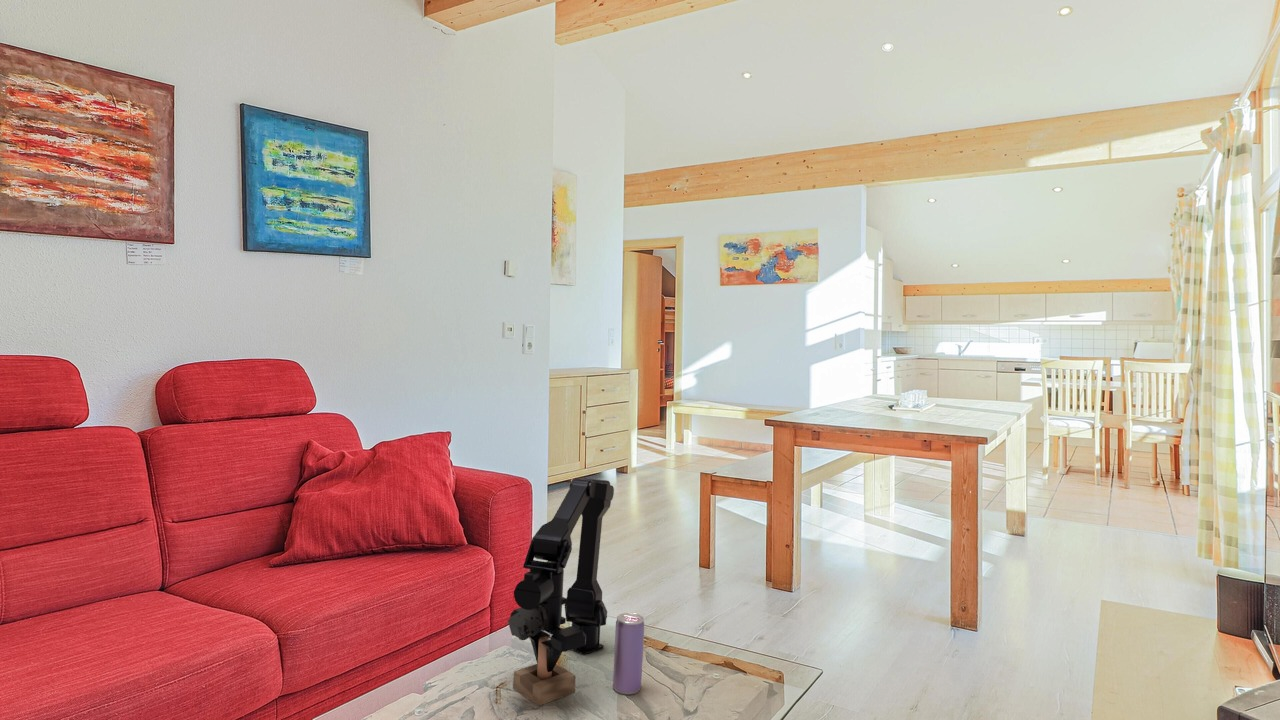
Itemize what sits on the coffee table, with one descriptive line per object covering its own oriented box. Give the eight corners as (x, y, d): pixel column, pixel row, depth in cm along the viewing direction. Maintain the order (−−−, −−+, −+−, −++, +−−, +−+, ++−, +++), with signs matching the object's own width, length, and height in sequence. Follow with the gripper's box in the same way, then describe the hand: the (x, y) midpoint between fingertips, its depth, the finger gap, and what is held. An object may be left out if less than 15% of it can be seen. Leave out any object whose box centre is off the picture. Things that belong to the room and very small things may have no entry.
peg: (545, 678, 151) (547, 635, 151) (554, 683, 149) (556, 640, 148) (533, 682, 149) (535, 639, 148) (542, 687, 147) (544, 644, 146)
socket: (548, 676, 155) (549, 659, 155) (574, 692, 149) (575, 675, 149) (513, 688, 149) (513, 671, 149) (539, 705, 142) (539, 688, 142)
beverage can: (637, 697, 148) (641, 624, 147) (609, 693, 149) (613, 621, 149) (643, 684, 154) (647, 614, 153) (616, 680, 155) (619, 610, 154)
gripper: (489, 588, 149) (486, 663, 150) (543, 616, 136) (539, 698, 136) (534, 578, 157) (530, 649, 158) (589, 603, 144) (585, 681, 144)
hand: (545, 668), depth 149 cm, fingers closed on peg, 3 cm apart
